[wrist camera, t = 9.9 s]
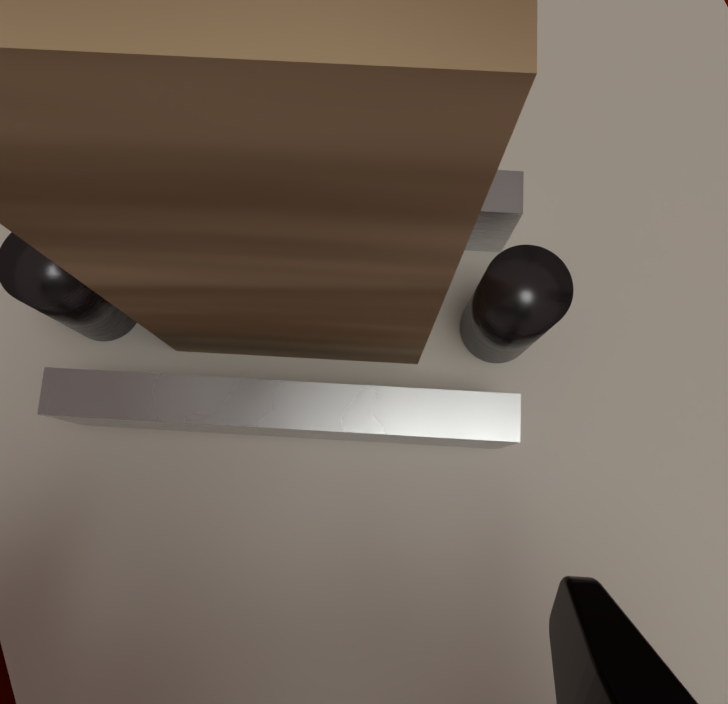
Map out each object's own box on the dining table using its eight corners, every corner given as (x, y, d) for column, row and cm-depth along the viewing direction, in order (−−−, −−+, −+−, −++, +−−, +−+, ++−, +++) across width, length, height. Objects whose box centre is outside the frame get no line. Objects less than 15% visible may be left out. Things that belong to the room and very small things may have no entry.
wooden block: (417, 364, 17) (537, 73, 5) (176, 351, 17) (-262, 34, 5) (421, 256, 17) (539, -235, 6) (188, 244, 17) (-183, -264, 6)
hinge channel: (530, 451, 16) (573, 441, 13) (53, 423, 17) (-29, 406, 13) (532, 216, 18) (573, 151, 14) (87, 193, 18) (20, 123, 14)
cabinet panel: (106, 952, 15) (87, 985, 14) (-89, 208, 19) (-115, 192, 18) (1003, 574, 17) (1043, 579, 16) (666, -49, 20) (681, -77, 19)
